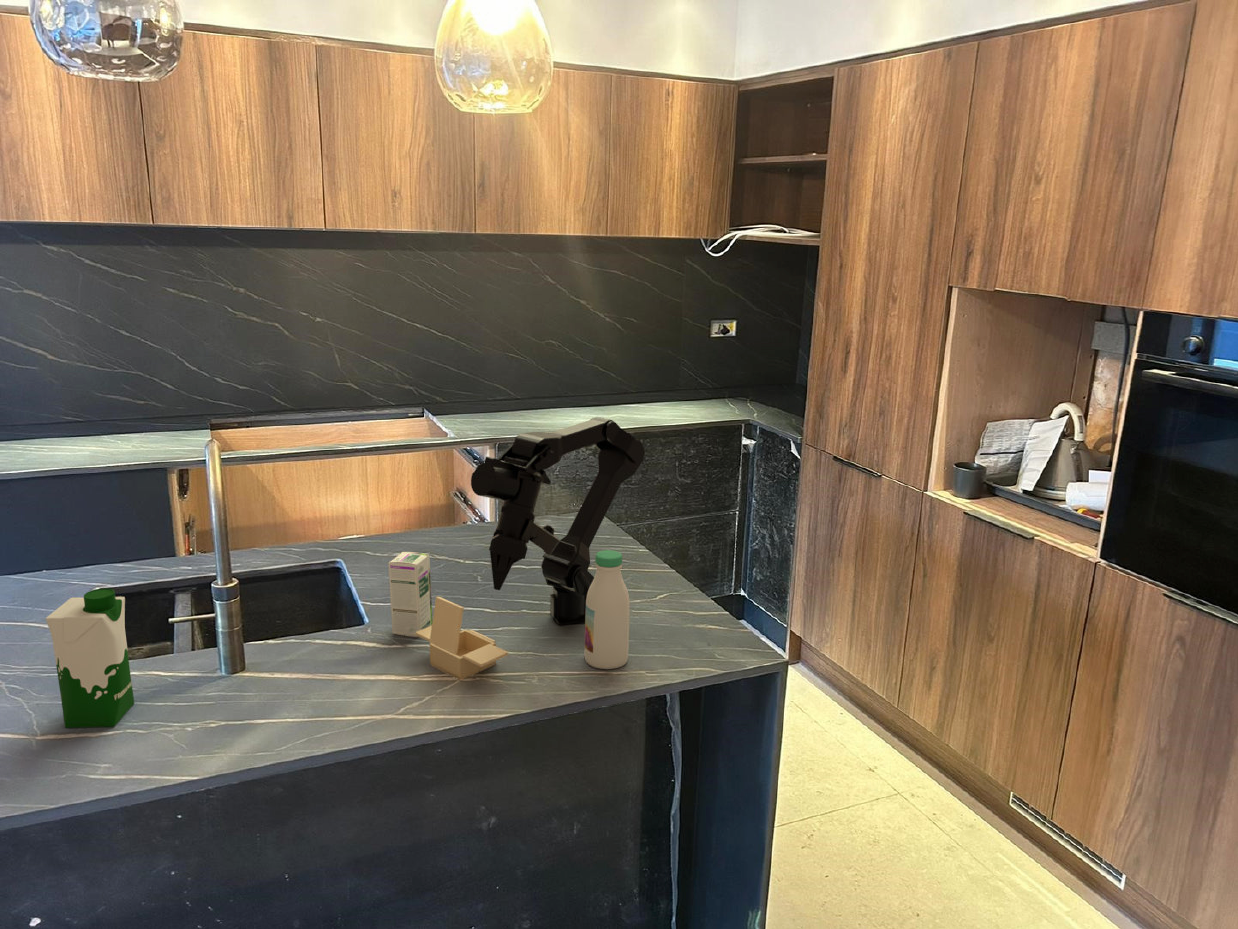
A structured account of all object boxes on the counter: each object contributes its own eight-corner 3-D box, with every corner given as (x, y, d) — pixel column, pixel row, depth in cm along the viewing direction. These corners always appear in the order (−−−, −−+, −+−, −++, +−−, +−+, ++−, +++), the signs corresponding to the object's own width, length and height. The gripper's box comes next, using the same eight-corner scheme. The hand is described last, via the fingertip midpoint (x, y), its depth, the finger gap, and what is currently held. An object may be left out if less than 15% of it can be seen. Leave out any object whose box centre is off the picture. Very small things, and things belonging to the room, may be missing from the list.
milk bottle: (633, 654, 162) (637, 549, 157) (619, 673, 155) (622, 564, 150) (593, 647, 165) (595, 543, 160) (577, 666, 158) (579, 558, 153)
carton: (451, 640, 166) (451, 618, 165) (517, 671, 155) (517, 648, 154) (413, 656, 160) (412, 633, 158) (478, 690, 149) (478, 665, 148)
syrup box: (420, 638, 167) (418, 564, 163) (390, 634, 168) (387, 561, 164) (433, 625, 172) (431, 553, 168) (404, 621, 173) (401, 550, 169)
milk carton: (118, 730, 134) (102, 605, 129) (54, 731, 134) (35, 606, 128) (143, 700, 143) (128, 582, 138) (83, 701, 142) (66, 582, 137)
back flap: (432, 642, 155) (439, 596, 154) (456, 653, 151) (463, 607, 150) (429, 642, 154) (436, 597, 154) (453, 654, 150) (460, 607, 150)
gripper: (566, 519, 152) (542, 609, 152) (561, 512, 170) (540, 592, 170) (501, 502, 151) (477, 593, 150) (503, 497, 169) (482, 578, 169)
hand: (496, 589), depth 160 cm, fingers closed
